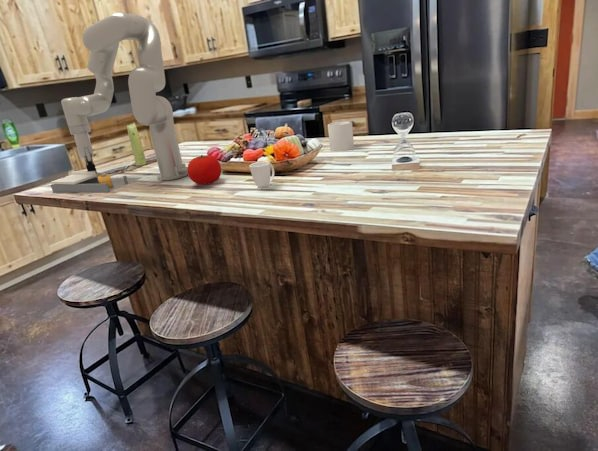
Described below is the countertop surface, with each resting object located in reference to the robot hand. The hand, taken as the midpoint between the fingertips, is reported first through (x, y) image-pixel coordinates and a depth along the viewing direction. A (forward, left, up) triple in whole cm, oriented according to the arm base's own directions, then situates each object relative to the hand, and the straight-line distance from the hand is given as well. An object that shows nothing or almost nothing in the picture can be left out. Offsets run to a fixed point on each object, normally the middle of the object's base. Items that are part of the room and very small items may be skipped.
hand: (92, 173), depth 176 cm
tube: (+2, -30, -5) cm, 31 cm away
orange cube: (-13, +7, -4) cm, 15 cm away
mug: (-94, -47, -5) cm, 105 cm away
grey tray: (-4, +2, -4) cm, 6 cm away
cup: (-83, +6, -5) cm, 83 cm away
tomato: (-57, +2, -5) cm, 57 cm away
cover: (+3, +7, -4) cm, 9 cm away
